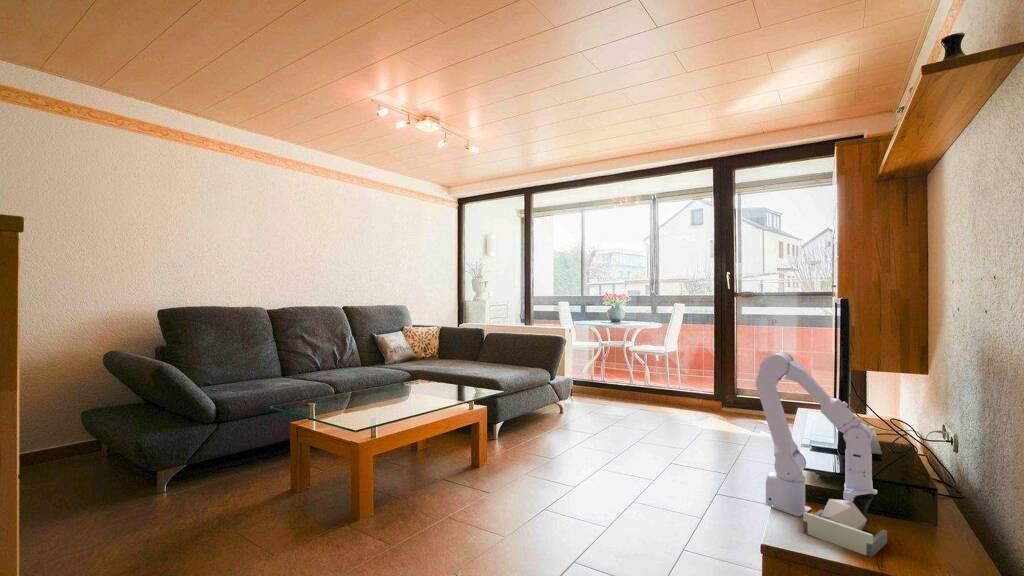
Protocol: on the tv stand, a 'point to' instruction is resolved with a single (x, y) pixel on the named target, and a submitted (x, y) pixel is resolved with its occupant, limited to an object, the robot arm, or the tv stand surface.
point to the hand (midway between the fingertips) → (858, 521)
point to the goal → (843, 534)
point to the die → (844, 513)
